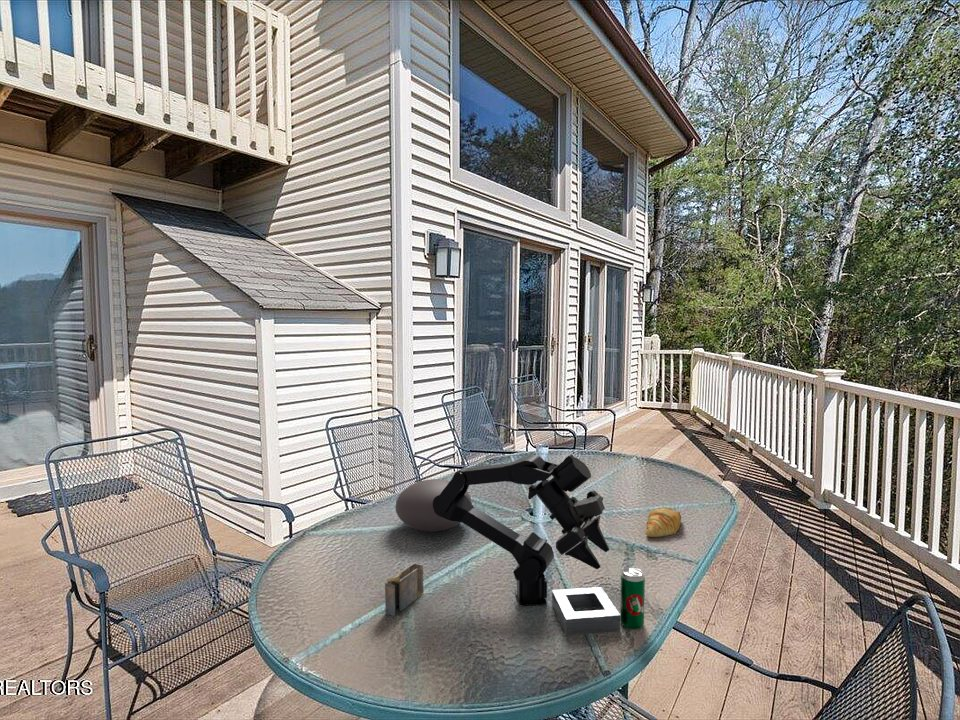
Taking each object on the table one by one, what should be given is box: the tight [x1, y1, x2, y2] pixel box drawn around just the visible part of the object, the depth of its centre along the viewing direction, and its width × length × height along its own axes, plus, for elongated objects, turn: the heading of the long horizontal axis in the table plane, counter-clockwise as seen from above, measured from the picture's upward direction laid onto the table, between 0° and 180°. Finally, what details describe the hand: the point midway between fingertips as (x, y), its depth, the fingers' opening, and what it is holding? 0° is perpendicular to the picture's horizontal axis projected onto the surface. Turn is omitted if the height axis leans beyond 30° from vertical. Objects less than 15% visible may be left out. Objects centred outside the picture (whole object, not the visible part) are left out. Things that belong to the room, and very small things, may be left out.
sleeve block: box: [551, 586, 621, 636], centre depth 117 cm, size 12×12×4 cm
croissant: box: [645, 507, 682, 538], centre depth 166 cm, size 21×10×8 cm, turn 136°
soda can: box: [619, 566, 646, 631], centre depth 114 cm, size 5×5×12 cm
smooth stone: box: [394, 478, 473, 533], centre depth 169 cm, size 25×25×15 cm
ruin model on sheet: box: [384, 562, 424, 617], centre depth 123 cm, size 11×3×10 cm, turn 151°
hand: (603, 559), depth 117 cm, fingers open, 9 cm apart
